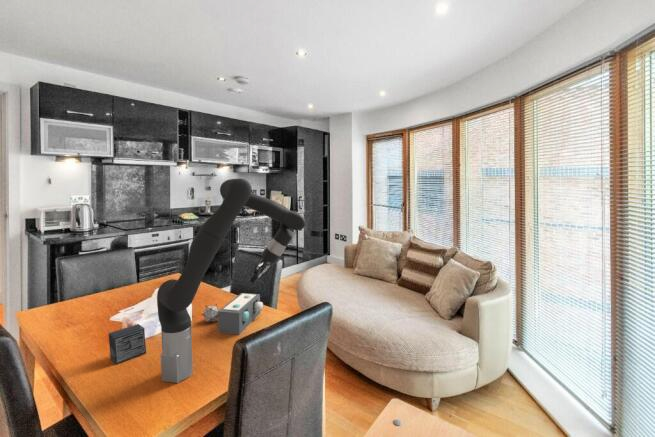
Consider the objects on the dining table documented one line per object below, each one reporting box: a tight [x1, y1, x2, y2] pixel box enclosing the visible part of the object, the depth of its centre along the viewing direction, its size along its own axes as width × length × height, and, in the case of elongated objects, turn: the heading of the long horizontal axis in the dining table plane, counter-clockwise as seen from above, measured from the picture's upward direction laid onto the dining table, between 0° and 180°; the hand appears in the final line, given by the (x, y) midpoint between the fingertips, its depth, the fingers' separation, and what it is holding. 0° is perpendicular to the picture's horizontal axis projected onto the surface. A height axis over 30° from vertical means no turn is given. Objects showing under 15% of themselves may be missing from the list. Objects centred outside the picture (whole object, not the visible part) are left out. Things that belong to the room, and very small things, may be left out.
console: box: [217, 292, 261, 336], centre depth 151 cm, size 24×10×11 cm, turn 170°
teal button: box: [242, 311, 249, 321], centre depth 144 cm, size 4×3×4 cm
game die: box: [201, 303, 219, 324], centre depth 152 cm, size 9×8×10 cm
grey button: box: [254, 301, 264, 312], centre depth 156 cm, size 4×3×4 cm
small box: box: [108, 323, 147, 365], centre depth 121 cm, size 11×6×10 cm, turn 141°
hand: (252, 282), depth 142 cm, fingers closed
